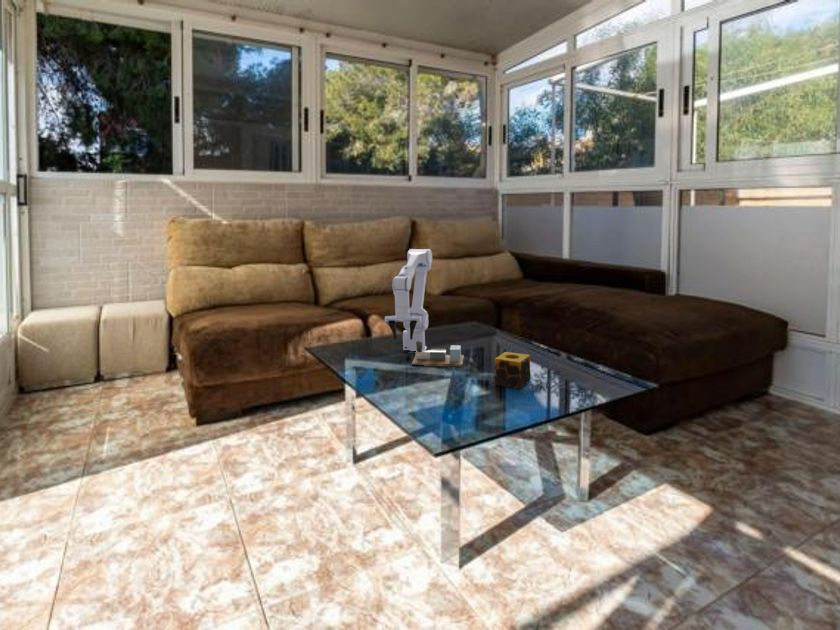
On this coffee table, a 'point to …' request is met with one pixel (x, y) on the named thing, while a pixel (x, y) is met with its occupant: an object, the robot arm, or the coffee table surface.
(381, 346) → the coffee table surface
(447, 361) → the guide board
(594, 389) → the coffee table surface
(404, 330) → the robot arm
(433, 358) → the channel
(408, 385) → the coffee table surface
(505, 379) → the candle
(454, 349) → the block
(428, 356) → the bolt
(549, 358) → the coffee table surface
